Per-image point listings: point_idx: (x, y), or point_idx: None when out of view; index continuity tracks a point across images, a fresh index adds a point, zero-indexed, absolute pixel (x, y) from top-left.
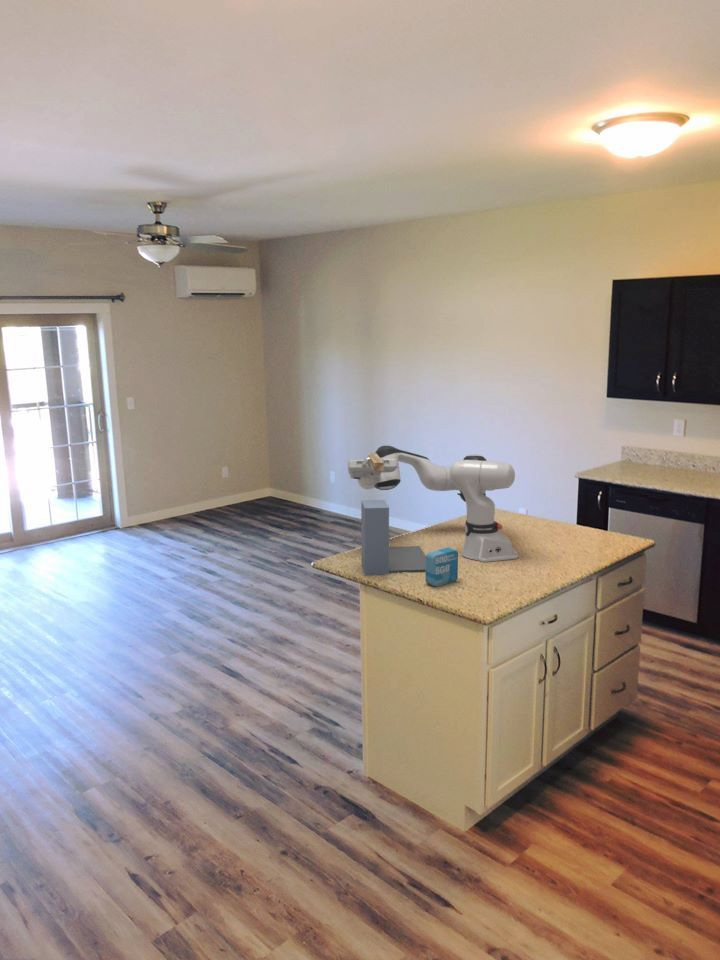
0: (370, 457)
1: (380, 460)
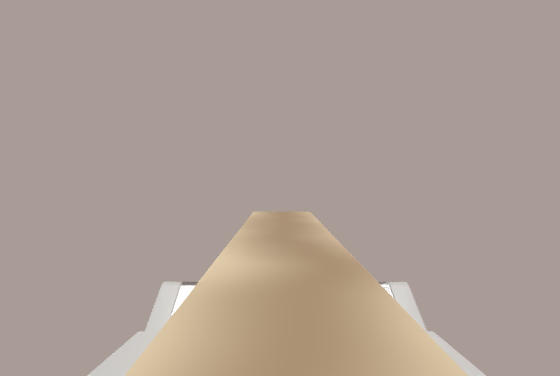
0: (338, 243)
1: (257, 219)
